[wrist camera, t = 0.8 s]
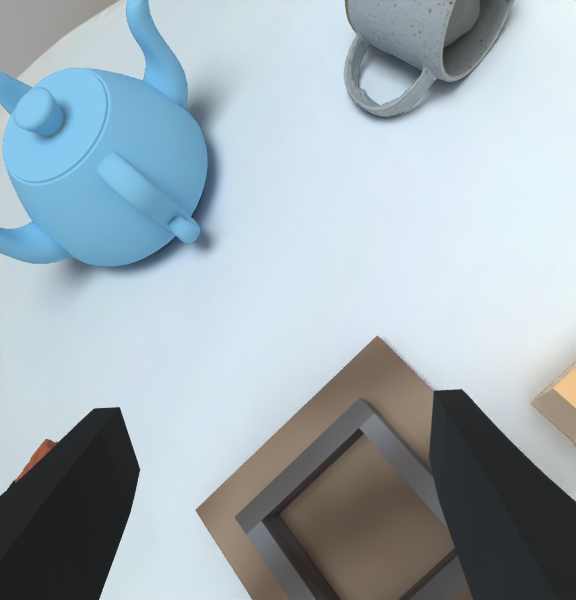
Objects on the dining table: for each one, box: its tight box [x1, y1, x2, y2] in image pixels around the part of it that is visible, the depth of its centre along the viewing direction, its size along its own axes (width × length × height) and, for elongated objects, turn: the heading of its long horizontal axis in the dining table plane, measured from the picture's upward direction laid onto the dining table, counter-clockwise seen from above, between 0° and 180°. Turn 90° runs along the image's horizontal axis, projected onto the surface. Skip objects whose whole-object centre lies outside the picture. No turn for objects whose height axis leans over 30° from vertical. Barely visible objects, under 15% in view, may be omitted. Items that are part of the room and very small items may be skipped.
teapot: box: [0, 0, 208, 266], centre depth 32 cm, size 15×15×10 cm
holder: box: [196, 336, 473, 600], centre depth 24 cm, size 13×14×4 cm
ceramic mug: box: [344, 0, 514, 117], centre depth 29 cm, size 10×8×7 cm
